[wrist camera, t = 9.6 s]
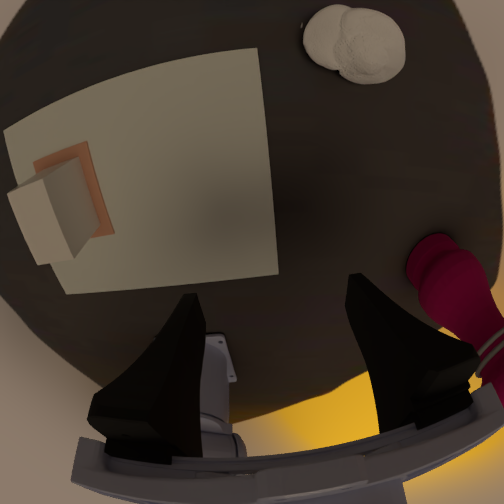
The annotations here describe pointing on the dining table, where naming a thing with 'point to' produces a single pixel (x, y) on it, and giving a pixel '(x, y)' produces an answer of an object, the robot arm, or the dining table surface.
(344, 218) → the dining table surface
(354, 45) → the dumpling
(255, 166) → the mat
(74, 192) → the plain grayish brown block
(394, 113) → the dining table surface
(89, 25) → the dining table surface
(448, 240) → the pepper mill
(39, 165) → the flat orange brown slab
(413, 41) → the dining table surface
